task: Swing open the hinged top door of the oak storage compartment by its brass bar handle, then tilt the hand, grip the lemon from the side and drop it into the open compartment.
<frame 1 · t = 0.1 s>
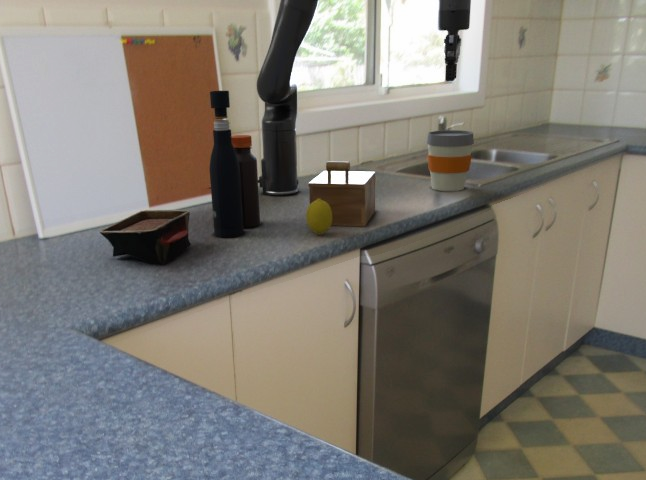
hand: (450, 80, 164), 29 cm above the countertop, tool pointing down, fingers open, 8 cm apart
chest: (343, 217, 156), on the countertop
lid: (342, 169, 152), point 11 cm above the countertop, hinge at 0.0°
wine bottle: (229, 234, 146), on the countertop
reusable coffee cup: (447, 188, 185), on the countertop
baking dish: (152, 255, 133), on the countertop
lemon: (319, 236, 143), on the countertop
vinegar: (245, 225, 153), on the countertop
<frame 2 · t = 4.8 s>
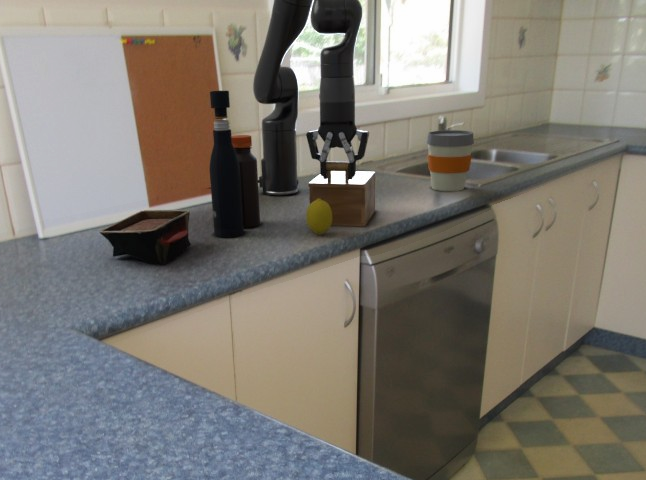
hand: (338, 178, 148), 10 cm above the countertop, tool pointing down, fingers closed on lid, 5 cm apart
lid: (342, 169, 152), point 11 cm above the countertop, hinge at -0.1°, touching gripper
everything else where it was.
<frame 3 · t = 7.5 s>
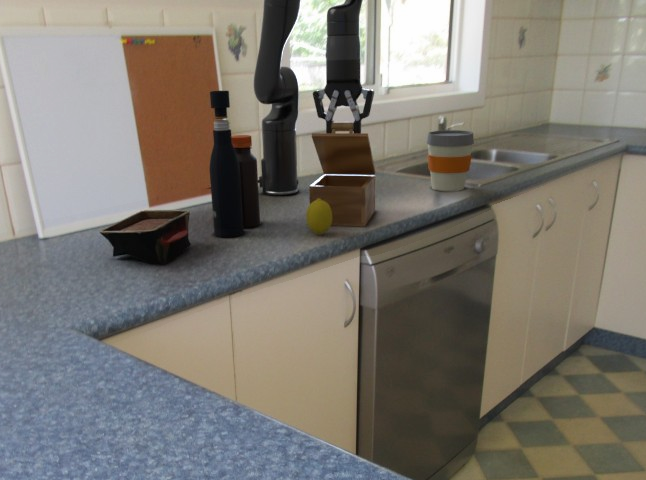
hand: (343, 137, 150), 19 cm above the countertop, tool pointing down, fingers closed on lid, 5 cm apart
lid: (345, 146, 154), point 16 cm above the countertop, hinge at 42.6°, touching gripper
everything else where it was.
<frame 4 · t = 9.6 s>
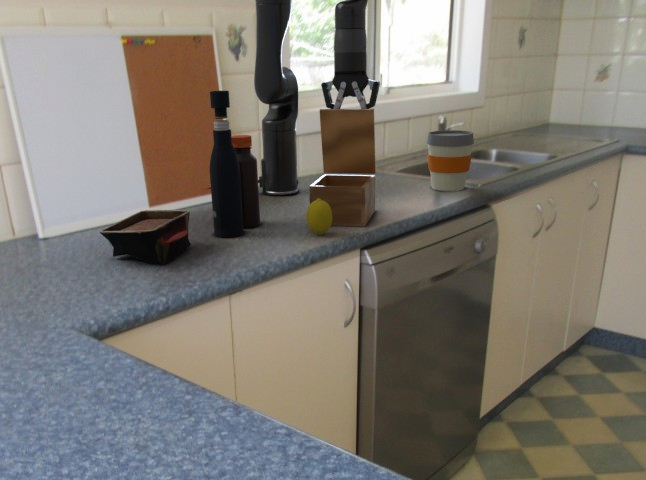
hand: (350, 126, 158), 20 cm above the countertop, tool pointing down, fingers closed on lid, 5 cm apart
lid: (349, 138, 157), point 17 cm above the countertop, hinge at 78.3°, touching gripper
everything else where it was.
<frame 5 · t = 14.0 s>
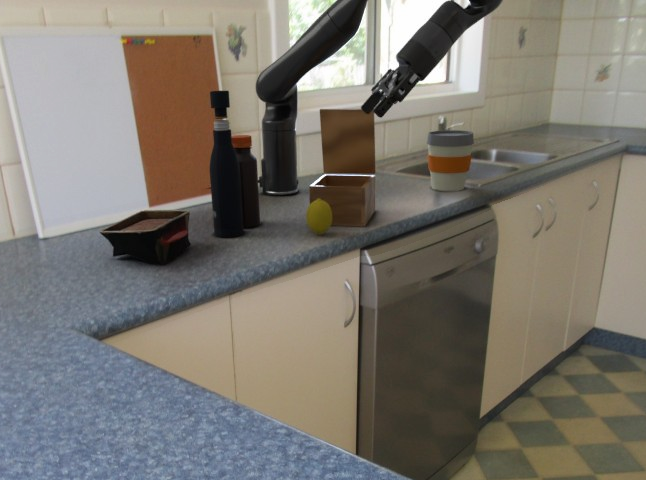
hand: (370, 113, 136), 25 cm above the countertop, tool tilted 45°, fingers open, 8 cm apart
lid: (349, 138, 158), point 17 cm above the countertop, hinge at 78.9°
everything else where it was.
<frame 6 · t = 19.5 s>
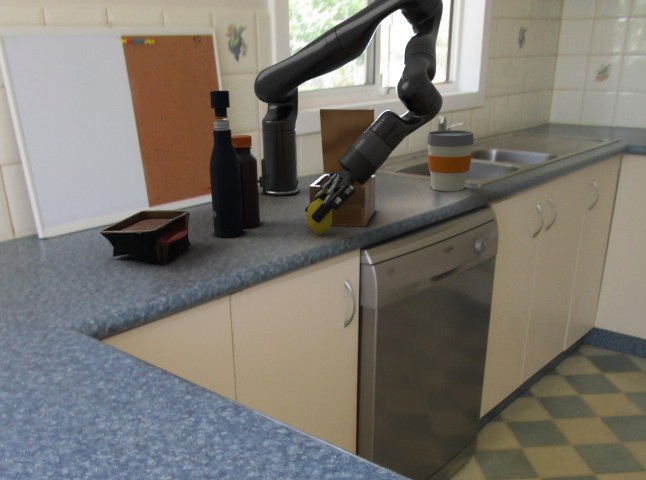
hand: (311, 216, 141), 4 cm above the countertop, tool tilted 45°, fingers closed on lemon, 5 cm apart
lemon: (319, 236, 143), on the countertop, touching gripper
everything else where it was.
when the fingers open (13 cm above the countertop, at t = 29.8 s): lemon drops 7 cm, resting on chest.
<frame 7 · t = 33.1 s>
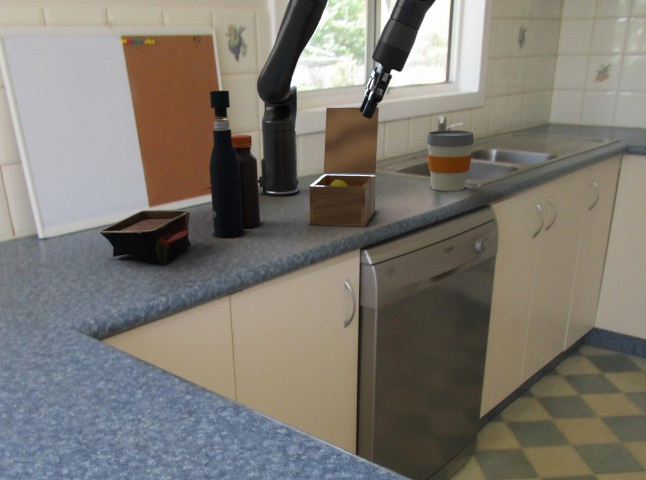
hand: (364, 114, 152), 23 cm above the countertop, tool tilted 25°, fingers open, 8 cm apart
lid: (352, 141, 161), point 16 cm above the countertop, hinge at 105.4°
lemon: (343, 210, 157), point 2 cm above the countertop, touching chest
everything else where it was.
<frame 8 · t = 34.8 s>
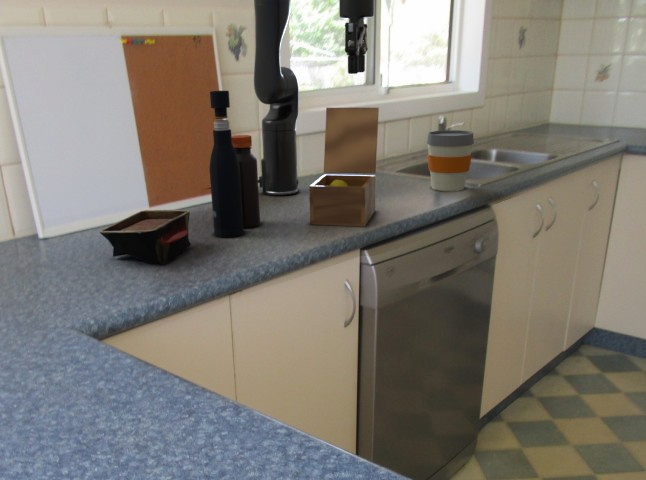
hand: (356, 73, 150), 32 cm above the countertop, tool pointing down, fingers open, 8 cm apart
nothing on the countertop moved.
at the end: lid at +105° (first picture: +0°); lemon inside the target area in the chest (0.8 cm from its centre), point 1.6 cm above the chest's base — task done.
